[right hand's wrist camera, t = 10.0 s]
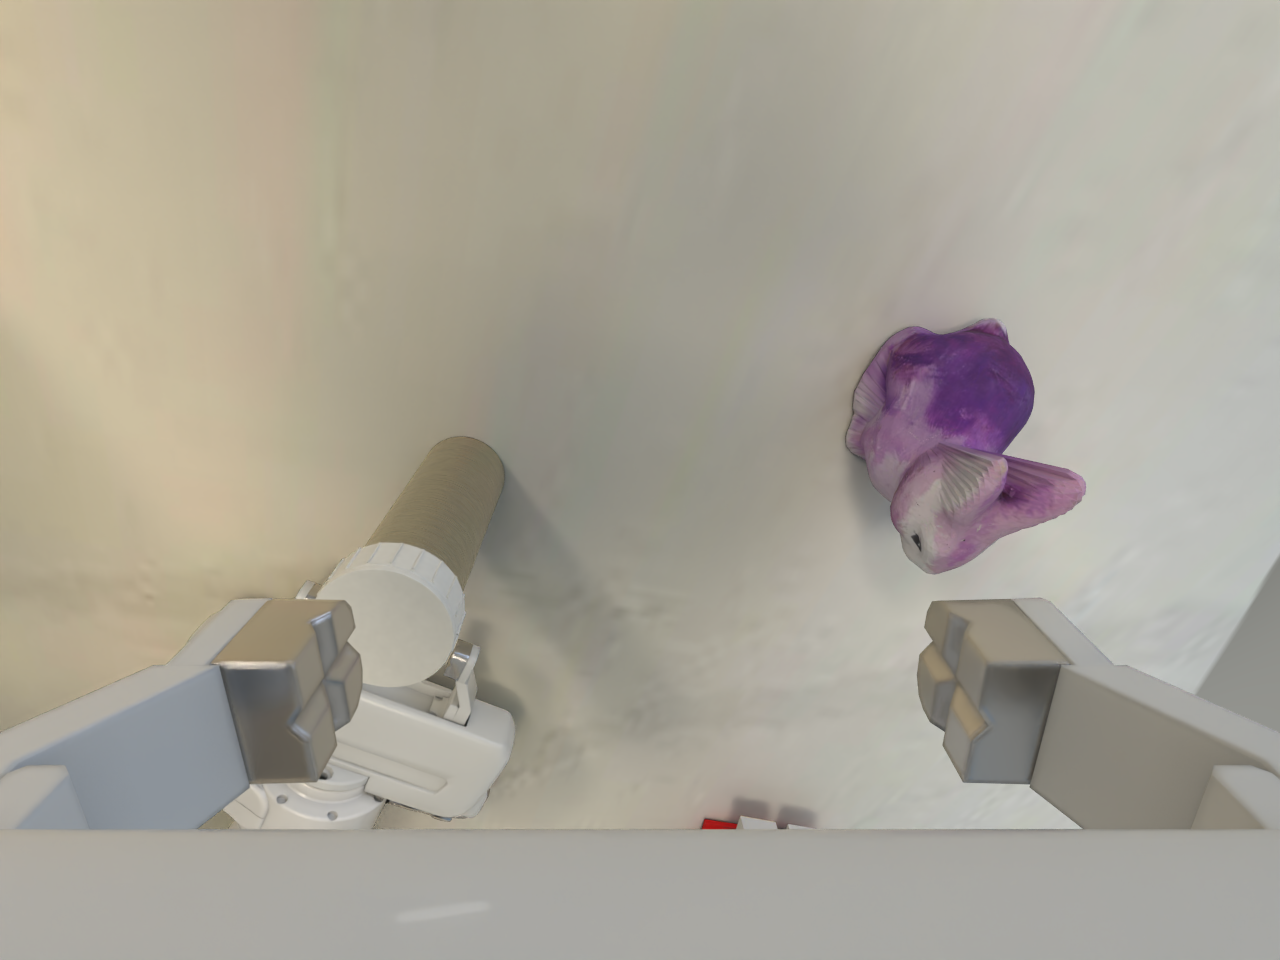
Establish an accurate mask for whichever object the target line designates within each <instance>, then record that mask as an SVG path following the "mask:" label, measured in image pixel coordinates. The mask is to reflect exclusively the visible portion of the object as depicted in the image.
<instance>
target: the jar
mask: <svg viewBox="0 0 1280 960" xmlns="http://www.w3.org/2000/svg"><path fill="white" fill-rule="evenodd" d="M504 480H505V474H504V468H503V465H502V462H501V460H500V459H499V457H498V455H497V454H496V453H495V452H494V451H493V450H492V449H491V448H490V447H489V446H488V445H486V444H485V443H483V442H481V441H479V440H476V439H473V438H469V437H452V438H448V439H446V440H443V441H441V442H440V443H438V444H437V445H435V446H434V447H433V448H432V449H431V451H430V452H429V453H428V455H427V456H426V458H425V459H424V461H423V462H422V464H421V465H420V467H419V468H418V470H417V471H416V472H415V474H414V475H413V477H412V478H411V480H410V481H409V483H408V484H407V486H406V487H405V488H404V490H403V491H402V493H401V494H400V496H399V497H398V499H397V500H396V502H395V503H394V504H393V506H392V507H391V509H390V510H389V512H388V513H387V515H386V516H385V518H384V519H383V520H382V522H381V523H380V525H379V526H378V528H377V529H376V531H375V532H374V534H373V535H372V536H371V538H370V539H369V541H368V542H367V544H366V545H365V546H369V545H373V544H378V542H381V543H390V542H393V543H403V544H408V545H412V546H415V547H418V548H421V549H424V550H425V551H427V552H429V553H431V554H432V555H434V556H436V557H437V558H438V559H440V560H441V561H443V563H444V564H446V565H447V566H448V567H449V569H450V570H451V571H452V572H453V573H454V575H455V576H457V580H458V582H459V584H460V586H461V588H462V592H463V590H464V588H465V585H466V582H467V580H468V577H469V575H470V572H471V569H472V567H473V564H474V562H475V559H476V556H477V554H478V551H479V548H480V546H481V543H482V541H483V538H484V535H485V533H486V530H487V528H488V525H489V522H490V520H491V517H492V515H493V512H494V509H495V507H496V504H497V502H498V499H499V496H500V494H501V491H502V488H503V485H504Z"/></svg>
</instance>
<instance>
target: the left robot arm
mask: <svg viewBox="0 0 1280 960" xmlns="http://www.w3.org/2000/svg"><path fill="white" fill-rule="evenodd" d="M321 587H322V585H320V584H317V583H314V582H312V581H309V580H307V581H306V582H305V583H304V585H303V586H302V587H301V589H300V590H299V592H298V594H297V596H296V597H295V599H316V597H317V593H318V592H319V590H320V589H321ZM219 612H220V611H218V612H216V613H214V614H212V615H211V616H209V617H208V618H207V619H206V620H205V621H204V622H203V623H202V624H201V625H200V626H199V627H198V629H197V630H196V631H195V632H194V633H193V635H192V636H191V637H190V638H189V640H188V641H187V643H188V642H189V641H190V640H191V639H192V638H193V637H194V636H195V635H196V634H197V633H198V632H199V631H201V630H202V629H203V628H204V627H205V626H206V625H207V624H208V623H209V622H210V621H211V620H212V619H213V618H214V617H215V616H216V615H217V614H218V613H219ZM187 643H186V644H187ZM480 648H481V647H479V646H476V645H474V644H471V643H468V642H465V641H463V640H460V639H458V641H457V643H456V645H455V648H454V650H453V652H452V653H451V655H450V657H449V660H448V663H447V666H446V668H445V671H444V674H443V675H444V676H447V677H449V678H452V679H454V680H455V683H456V685H455V687H454V689H453V690H451V689H448V688H446V687H443V686H440V685H438V684H435V683H432V682H430V681H427V680H423V681H421V682H418V683H415V684H412V685H408V686H401V687H380V686H374V685H370V684H366V683H363V687H362V691H361V696H360V700H359V704H358V708H357V710H356V712H355V713H354V715H353V717H352V719H351V721H350V722H349V723H348V724H346V725H345V726H343V727H342V728H340V729H339V730H337V731H335V735H336V740H337V747H336V749H335V751H334V752H333V754H332V756H331V758H330V760H329V761H328V763H327V765H326V767H325V769H324V770H323V772H322V774H321V776H320V778H319V779H318V781H317V782H313V783H278V784H250V788H249V789H248V790H246V791H245V792H244V793H243V794H241V795H240V796H239V797H237V798H236V799H235V800H234V801H232V802H231V803H230V804H228V805H227V806H226V807H225V808H223V809H222V810H223V811H225V812H226V813H227V814H228V815H229V816H231V817H232V818H233V819H234V821H233V822H232V823H231V825H230V826H229V828H228V829H373V827H374V825H375V823H376V821H377V819H378V817H379V815H380V813H381V810H382V809H383V807H384V805H385V803H387V802H388V803H391V804H393V805H396V806H399V807H402V808H405V809H408V810H412V811H413V810H414V811H418V812H422V813H426V814H428V815H431V816H432V817H433V818H435V819H438V820H441V821H448V822H450V821H451V820H452V818H457V819H463V818H473V817H475V816H476V815H477V814H478V813H479V811H480V810H481V809H482V807H483V805H484V803H485V802H486V800H487V798H488V796H489V793H490V787H491V786H492V785H493V783H494V782H495V781H496V779H497V778H498V776H499V775H500V774H501V772H502V771H503V769H504V768H505V766H506V764H507V763H508V761H509V758H510V755H511V752H512V748H513V743H514V738H515V730H516V728H515V724H514V721H513V718H512V715H511V713H510V712H508V711H507V710H504V709H502V708H499V707H497V706H494V705H491V704H488V703H486V702H483V701H480V700H478V699H475V697H476V693H477V684H476V679H475V674H474V669H473V668H474V666H475V664H476V661H477V659H478V655H479V652H480Z"/></svg>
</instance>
